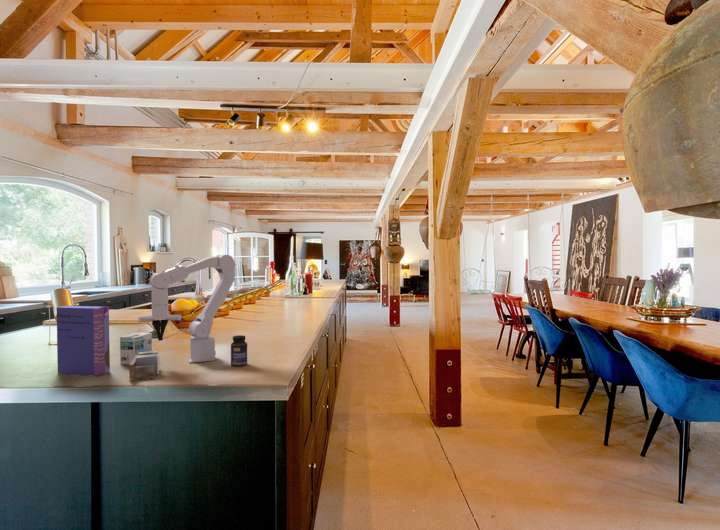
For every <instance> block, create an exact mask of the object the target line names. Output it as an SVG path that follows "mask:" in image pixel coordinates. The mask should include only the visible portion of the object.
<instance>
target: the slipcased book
mask: <svg viewBox="0 0 720 530" xmlns="http://www.w3.org/2000/svg"><path fill="white" fill-rule="evenodd" d="M160 364H161V363H160V353H158V354H151V355H138V356H137V357H136V366H147V365H154V374H158V373H159V374H160V372H159V371H161V370H160ZM159 374H158V375H159Z"/></svg>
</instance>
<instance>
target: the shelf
mask: <svg viewBox="0 0 720 530" xmlns="http://www.w3.org/2000/svg"><path fill="white" fill-rule="evenodd" d="M151 354H159V352H158V350H152V351H147V352H139V354H138V355H151ZM138 355H136V356H135V357H134V359H133V360H132V362H131V363H130V364H128V365H129V370H128V371H129V382H134V381H133V380H135V381H141V380H140V379H145V380H150V379H149V378H154V379H155V376H156V375H155V374H154V365H147V366H136V357H137V356H138ZM154 375H155V376H154Z"/></svg>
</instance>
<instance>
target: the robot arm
mask: <svg viewBox="0 0 720 530" xmlns="http://www.w3.org/2000/svg"><path fill="white" fill-rule="evenodd" d="M236 266H237V264H236V262H235V260H234V258H233V256H231V255H230V254H224V255H223V254H217V255H215V256H208V257H205V258H203V259H201V260H199V261H196V262H194V263H190V264H189V265H187V266H185V265H182V264H175V265H174V266H173V267H171V268H168V269H163V270H161V272H156V273H154V274H152V276H151V277H150V278H149V279H150V280H149V284H150V286H151V315H147V316H138V323H148V322H149V323H151V322H152V323H151V325H152V326H153V329H154V330H155V333H156V336H157V341H163V339H164V334H165V330H166V327H167V325H168V323H169V322H170V321H171V322H172V321H181V320H182V314H169V288H168V287H169V285H173V284H176V283H178V282H180V281H184V280H186V279H188V277H189V275H190V274H193V273H195V272H198V271H201V270H205V269H207V268H212V269H215V271H216V272H217V273H218V277H219V281H218V282H217V285H216V286H215V288H214V290H213V292H212V294H211V295H210V297H209V298H208V300H207V302H206V304H205V305H204V307H203V309H202V310H201V312H200V314H198V315H197V316H196V317H195V319H194V320H193V321H192V322H190V324H189V325H188V331H189V333H190V334H191V336H190V337H189V338H190V339H189V340H190V341H189V343H190V346H189V348H190V352H189V353H190V354H189V355H190V356H189V360H188V362H189V363H192V364H193V363H200V362H202V363H203V362H211V361H215V359H216V352H217V351H216V349H215V347H216V346H215V345H216V344H215V343H216V342H215V341H216V340H215V336H213V337H211V336H210V335H211V332H212V326H213V324H214V318H215V315H216V314H217V312H218V311H219V309H220V307H221V306H222V303H223V302H224V300H225V298H226V297H227V294H228V292H229V291H230V289H231V287H232V285H233V284H234V282H235V274H236V273H235V270H236Z"/></svg>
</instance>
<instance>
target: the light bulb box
mask: <svg viewBox="0 0 720 530" xmlns="http://www.w3.org/2000/svg"><path fill="white" fill-rule="evenodd" d="M119 344H120V345H119V346H120V347H119V352H120V356H119V357H120V361H119V363H120V365H130V363H131V362H132V360H133V359H134V357H135V356H136V355H138V354H139V352H147V351H153V333H152V332H140V331H139V332H135V333H134V332H133V333H131V334H127V335H123V336H120V337H119Z"/></svg>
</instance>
